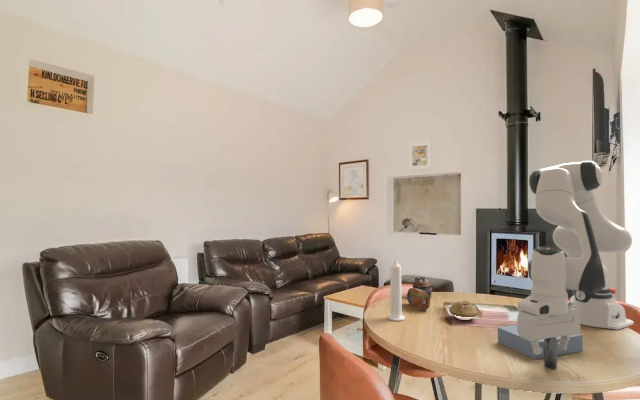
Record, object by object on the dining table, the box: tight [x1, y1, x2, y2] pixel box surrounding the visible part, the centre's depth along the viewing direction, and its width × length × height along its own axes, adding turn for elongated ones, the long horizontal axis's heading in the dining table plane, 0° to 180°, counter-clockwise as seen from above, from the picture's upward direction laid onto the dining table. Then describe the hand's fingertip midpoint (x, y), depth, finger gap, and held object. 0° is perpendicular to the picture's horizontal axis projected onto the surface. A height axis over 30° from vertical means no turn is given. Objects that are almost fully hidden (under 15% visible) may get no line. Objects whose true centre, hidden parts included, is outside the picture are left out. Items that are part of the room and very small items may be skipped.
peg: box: [543, 337, 558, 370], centre depth 99 cm, size 3×3×10 cm
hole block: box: [497, 324, 584, 360], centre depth 113 cm, size 20×14×5 cm
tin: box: [406, 287, 431, 311], centre depth 158 cm, size 15×3×8 cm, turn 17°
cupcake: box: [412, 277, 433, 299], centre depth 177 cm, size 10×10×10 cm
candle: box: [387, 257, 406, 322], centre depth 142 cm, size 7×7×25 cm
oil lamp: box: [448, 300, 479, 318], centre depth 143 cm, size 11×15×8 cm
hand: (550, 351), depth 99 cm, fingers open, 8 cm apart
